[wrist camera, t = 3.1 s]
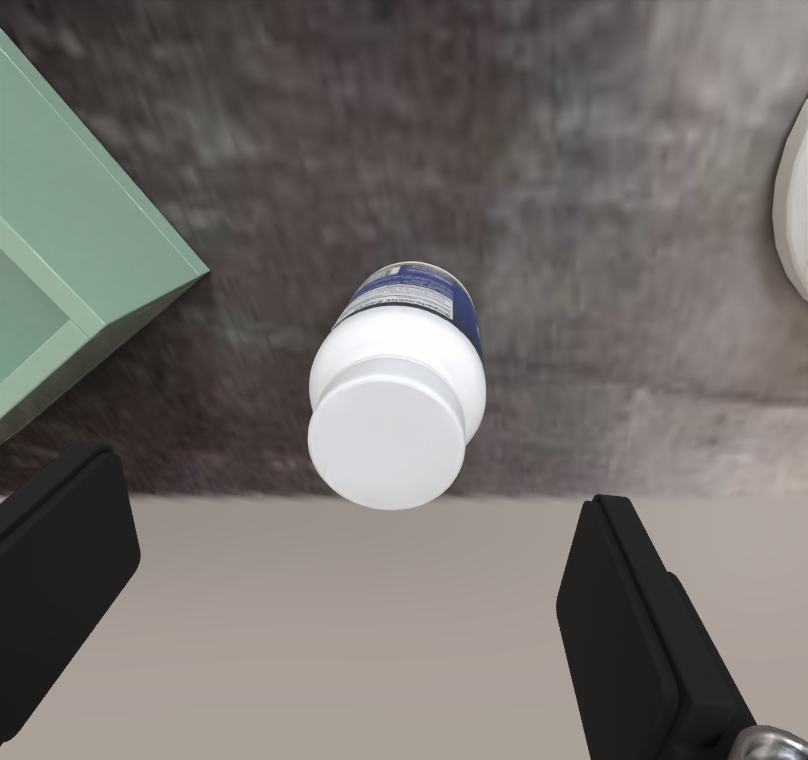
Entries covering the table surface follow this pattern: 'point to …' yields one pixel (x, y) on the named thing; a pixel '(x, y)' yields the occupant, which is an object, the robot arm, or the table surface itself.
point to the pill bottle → (397, 389)
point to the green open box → (70, 248)
